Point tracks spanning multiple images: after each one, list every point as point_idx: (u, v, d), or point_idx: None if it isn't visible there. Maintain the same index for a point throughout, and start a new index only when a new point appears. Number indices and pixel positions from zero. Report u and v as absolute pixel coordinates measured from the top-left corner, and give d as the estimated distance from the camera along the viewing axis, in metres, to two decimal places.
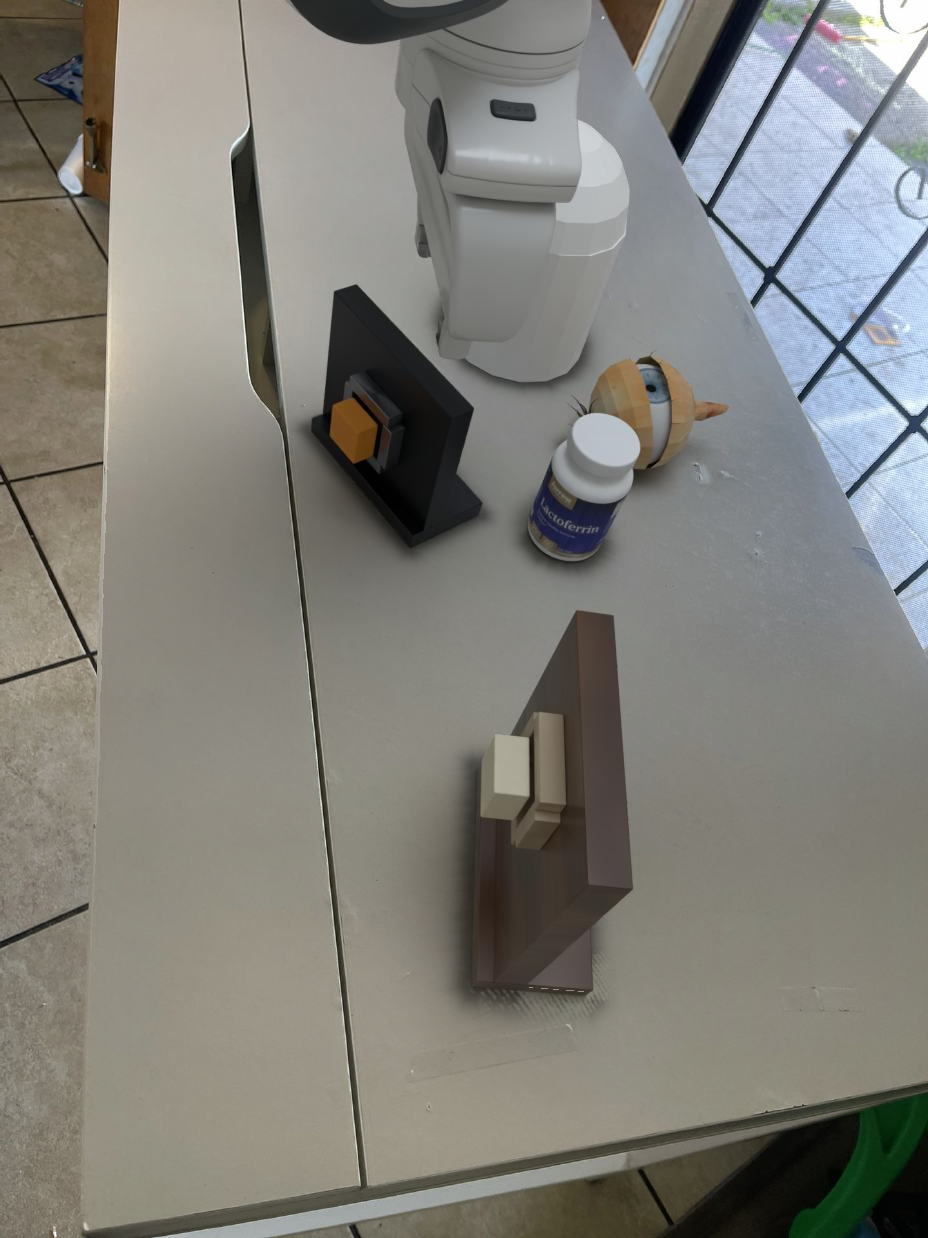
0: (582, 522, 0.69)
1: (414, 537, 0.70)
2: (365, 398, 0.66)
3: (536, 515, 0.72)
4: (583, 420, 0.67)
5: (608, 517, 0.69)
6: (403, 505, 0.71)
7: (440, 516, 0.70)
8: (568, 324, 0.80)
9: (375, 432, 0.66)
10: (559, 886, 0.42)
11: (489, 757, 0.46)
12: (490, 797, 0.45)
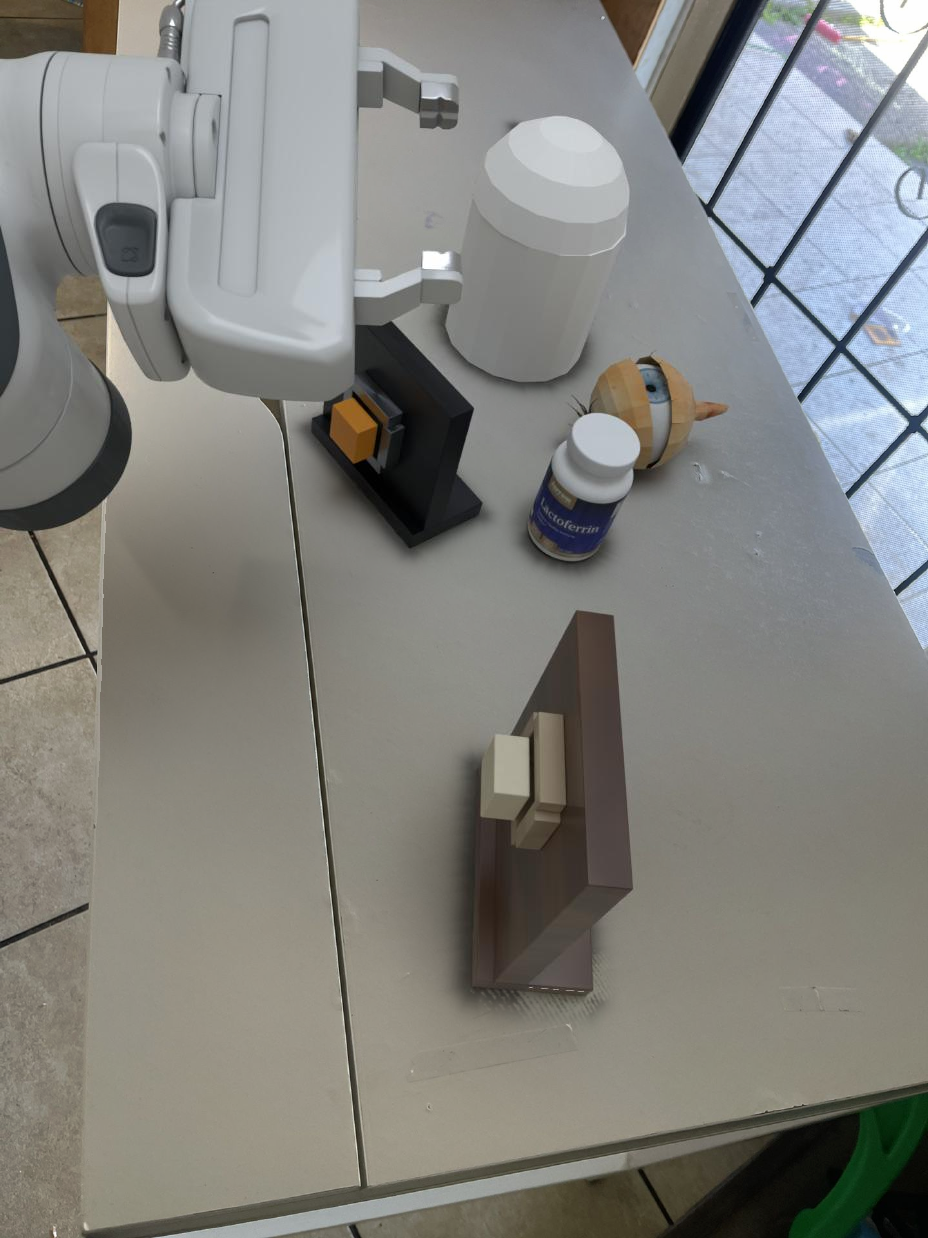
0: (582, 522, 0.69)
1: (414, 537, 0.70)
2: (365, 398, 0.66)
3: (536, 515, 0.72)
4: (583, 420, 0.67)
5: (608, 517, 0.69)
6: (403, 505, 0.71)
7: (440, 516, 0.70)
8: (568, 324, 0.80)
9: (375, 432, 0.66)
10: (559, 886, 0.42)
11: (489, 757, 0.46)
12: (490, 797, 0.45)
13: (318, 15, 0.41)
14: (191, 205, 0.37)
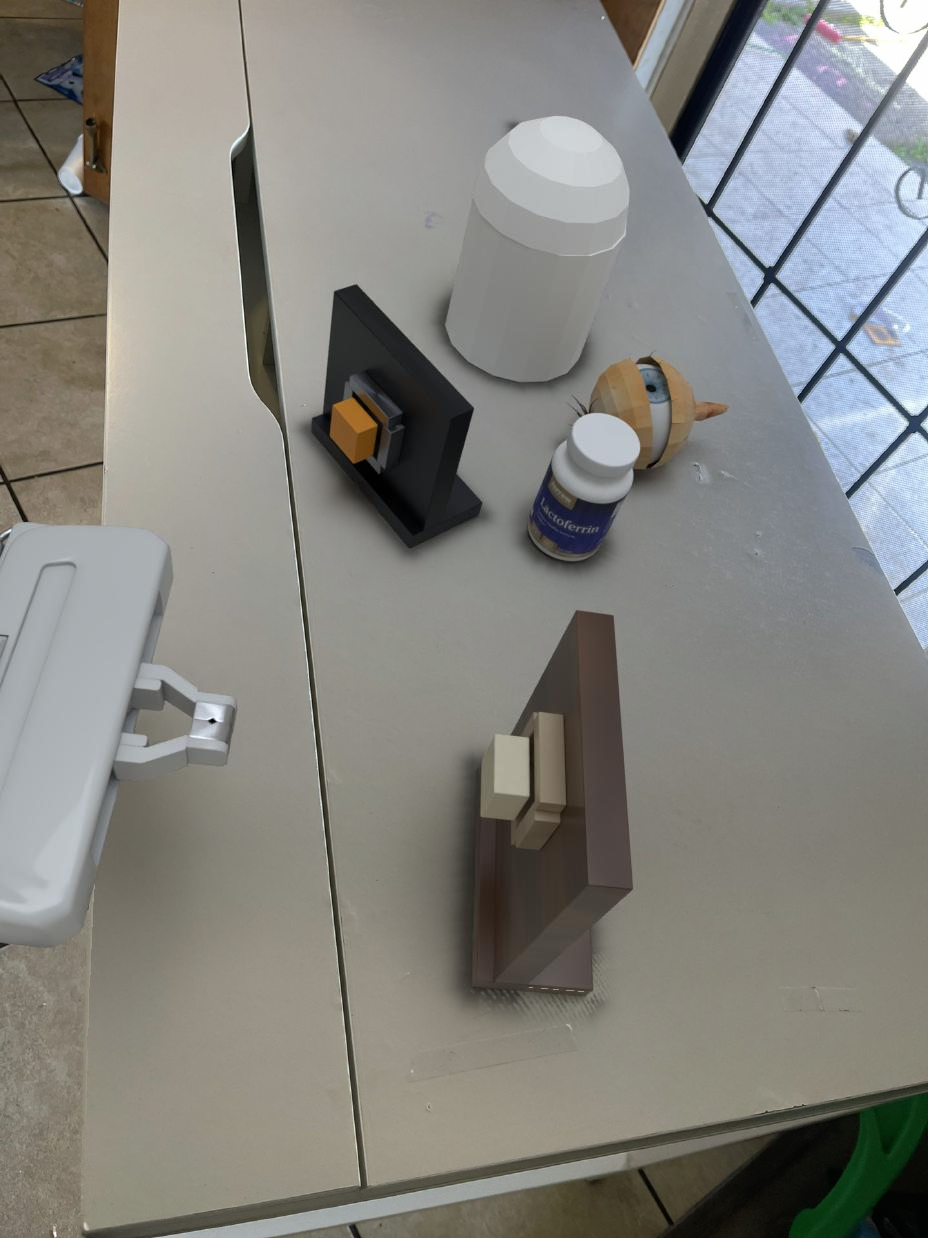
0: (582, 522, 0.69)
1: (414, 537, 0.70)
2: (365, 398, 0.66)
3: (536, 515, 0.72)
4: (583, 420, 0.67)
5: (608, 517, 0.69)
6: (403, 505, 0.71)
7: (440, 516, 0.70)
8: (568, 324, 0.80)
9: (375, 432, 0.66)
10: (559, 886, 0.42)
11: (489, 757, 0.46)
12: (490, 797, 0.45)
13: (124, 567, 0.45)
14: None
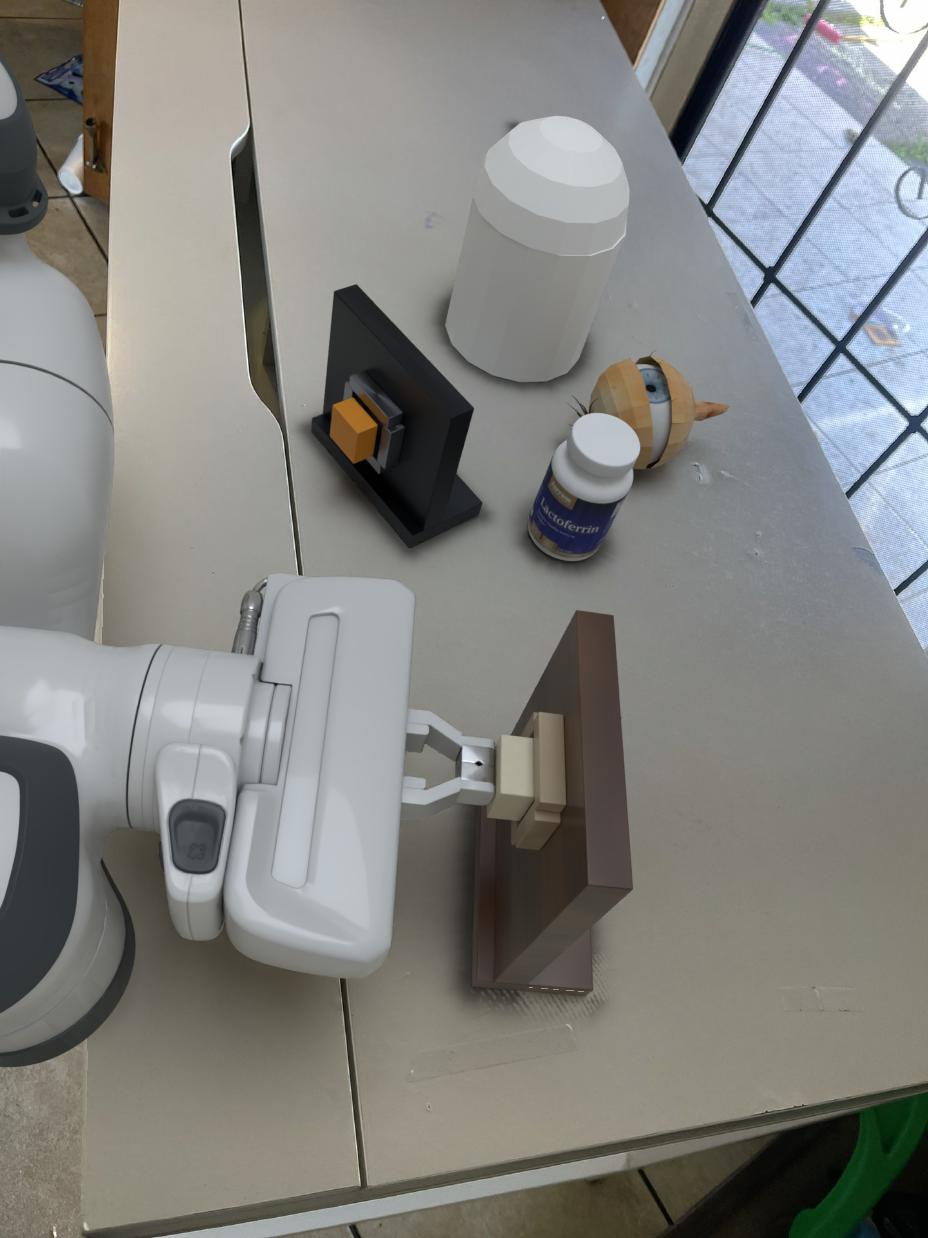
0: (582, 522, 0.69)
1: (414, 537, 0.70)
2: (365, 398, 0.66)
3: (536, 515, 0.72)
4: (583, 420, 0.67)
5: (608, 517, 0.69)
6: (403, 505, 0.71)
7: (440, 516, 0.70)
8: (568, 324, 0.80)
9: (375, 432, 0.66)
10: (559, 886, 0.42)
11: (495, 758, 0.46)
12: (497, 798, 0.45)
13: (381, 617, 0.48)
14: (258, 800, 0.40)
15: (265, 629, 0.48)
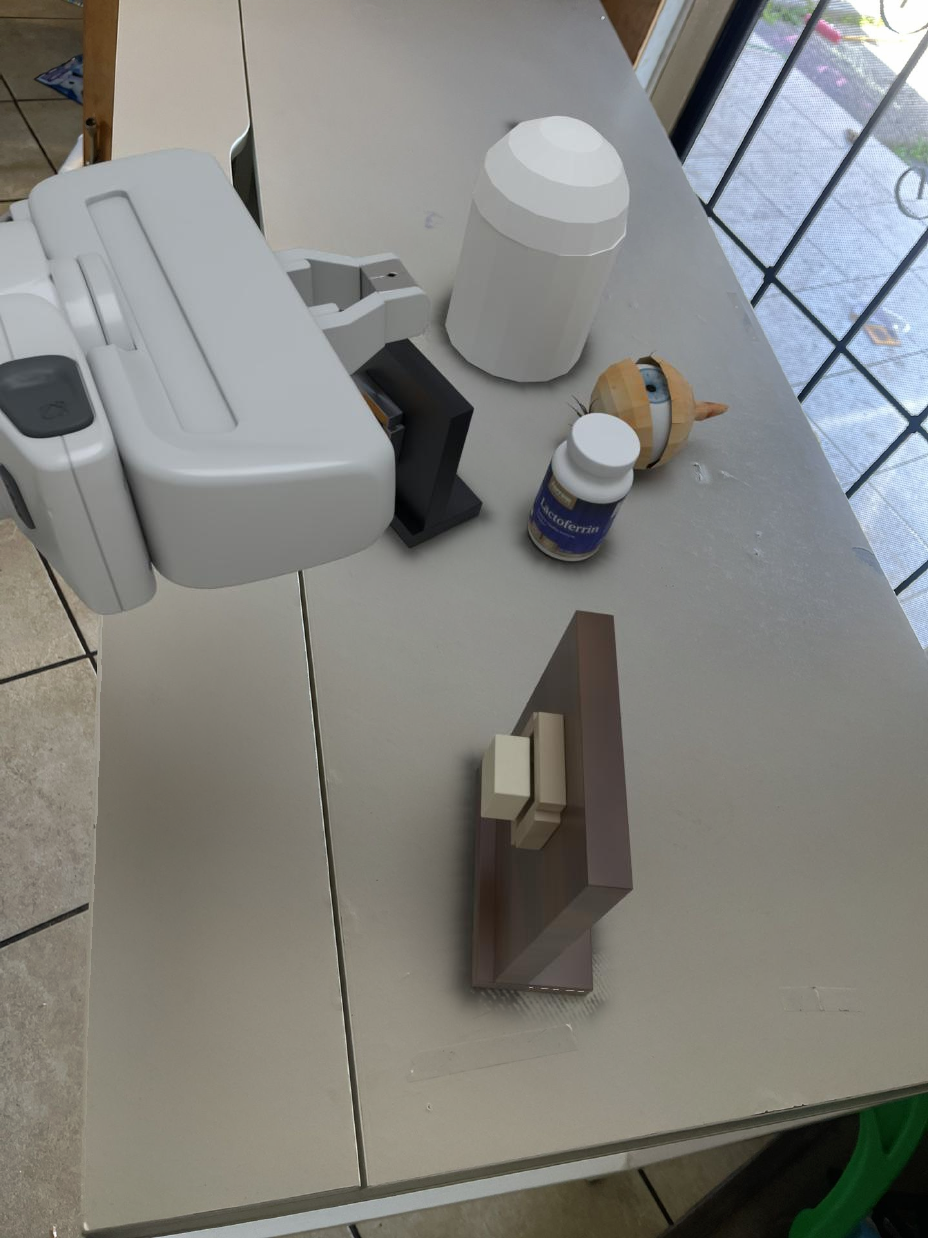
0: (582, 522, 0.69)
1: (414, 537, 0.70)
2: (365, 398, 0.66)
3: (536, 515, 0.72)
4: (583, 420, 0.67)
5: (608, 517, 0.69)
6: (403, 505, 0.71)
7: (440, 516, 0.70)
8: (568, 324, 0.80)
9: None
10: (559, 886, 0.42)
11: (489, 757, 0.46)
12: (490, 797, 0.45)
13: (182, 177, 0.35)
14: (116, 348, 0.27)
15: None
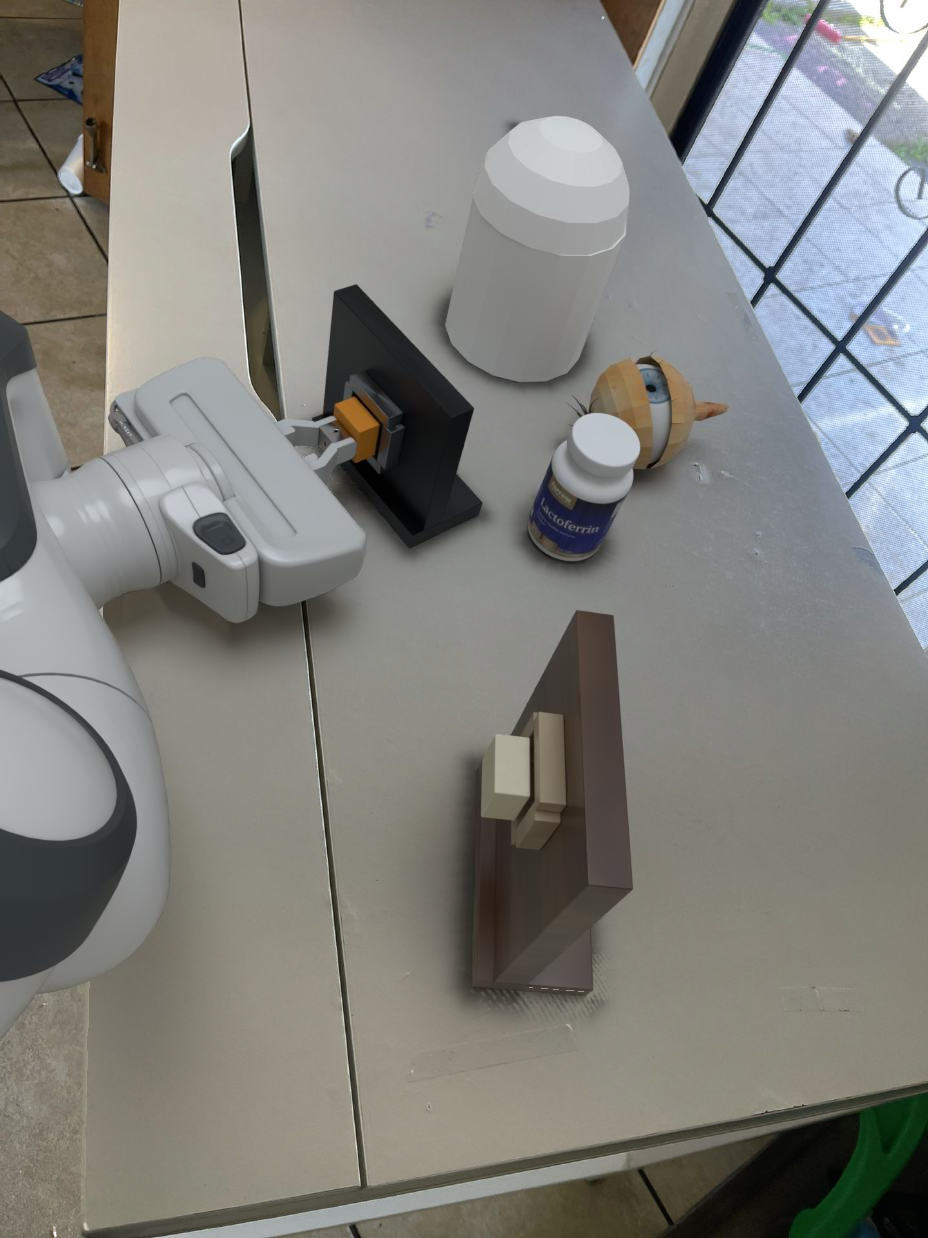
0: (582, 522, 0.69)
1: (414, 537, 0.70)
2: (365, 398, 0.66)
3: (536, 515, 0.72)
4: (583, 420, 0.67)
5: (608, 517, 0.69)
6: (403, 505, 0.71)
7: (440, 516, 0.70)
8: (568, 324, 0.80)
9: (377, 431, 0.66)
10: (559, 886, 0.42)
11: (489, 757, 0.46)
12: (490, 797, 0.45)
13: (214, 380, 0.65)
14: (236, 502, 0.58)
15: (142, 429, 0.63)
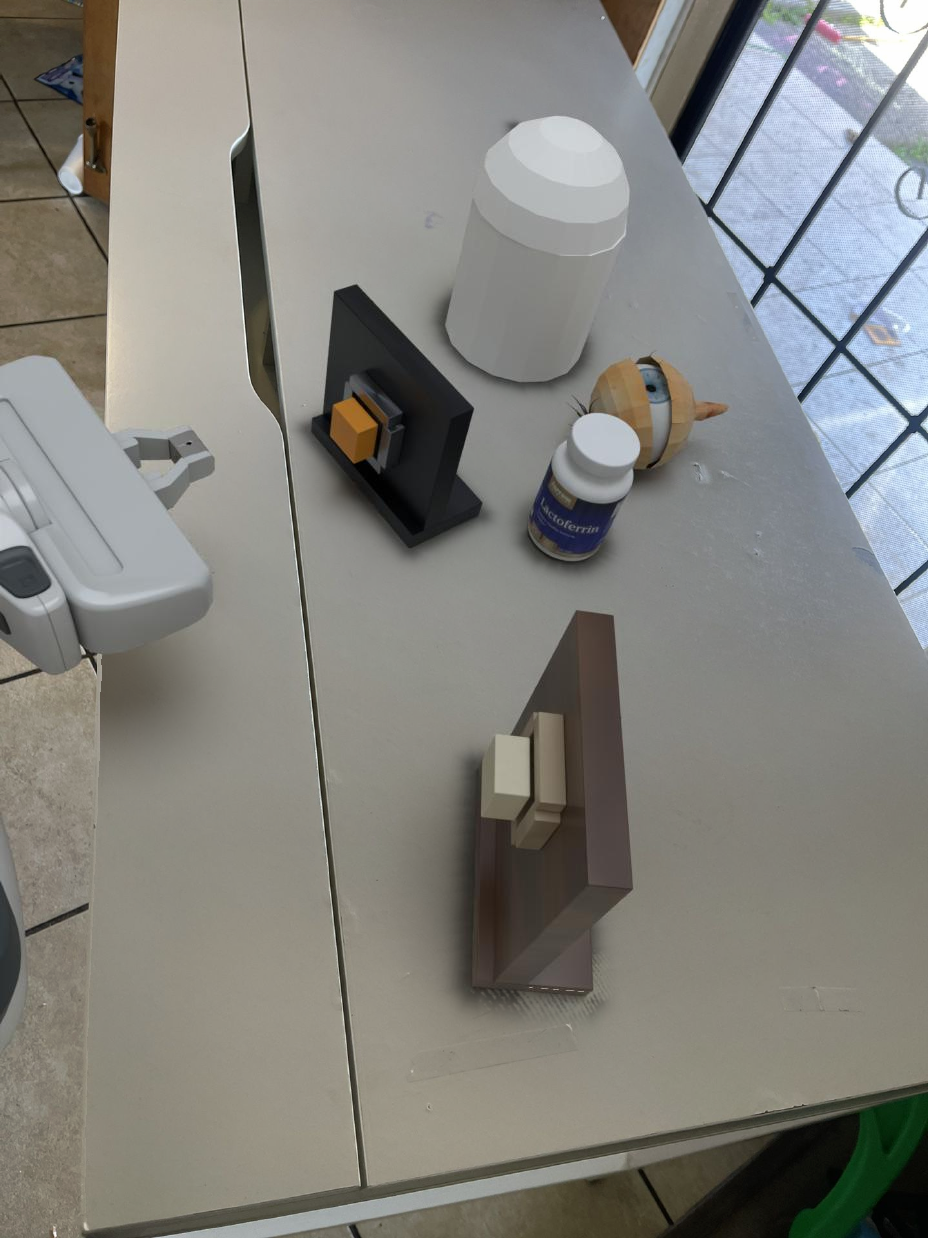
0: (582, 522, 0.69)
1: (414, 537, 0.70)
2: (365, 398, 0.66)
3: (536, 515, 0.72)
4: (583, 420, 0.67)
5: (608, 517, 0.69)
6: (403, 505, 0.71)
7: (440, 516, 0.70)
8: (568, 324, 0.80)
9: (375, 432, 0.66)
10: (559, 886, 0.42)
11: (489, 757, 0.46)
12: (490, 797, 0.45)
13: (42, 383, 0.55)
14: (46, 532, 0.48)
15: None
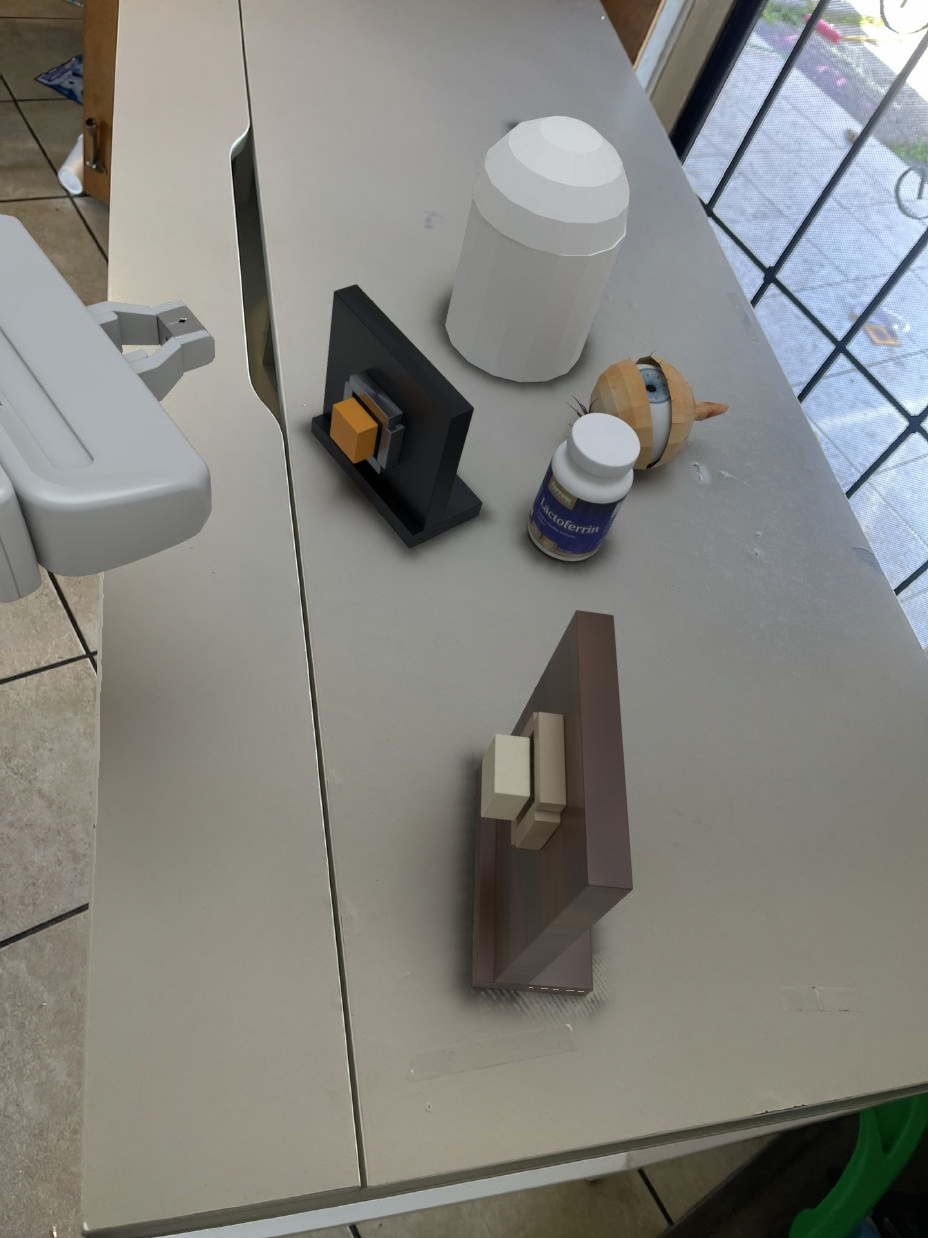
0: (582, 522, 0.69)
1: (414, 537, 0.70)
2: (365, 398, 0.66)
3: (536, 515, 0.72)
4: (583, 420, 0.67)
5: (608, 517, 0.69)
6: (403, 505, 0.71)
7: (440, 516, 0.70)
8: (568, 324, 0.80)
9: (375, 432, 0.66)
10: (559, 886, 0.42)
11: (489, 757, 0.46)
12: (490, 797, 0.45)
13: None
14: None
15: None
